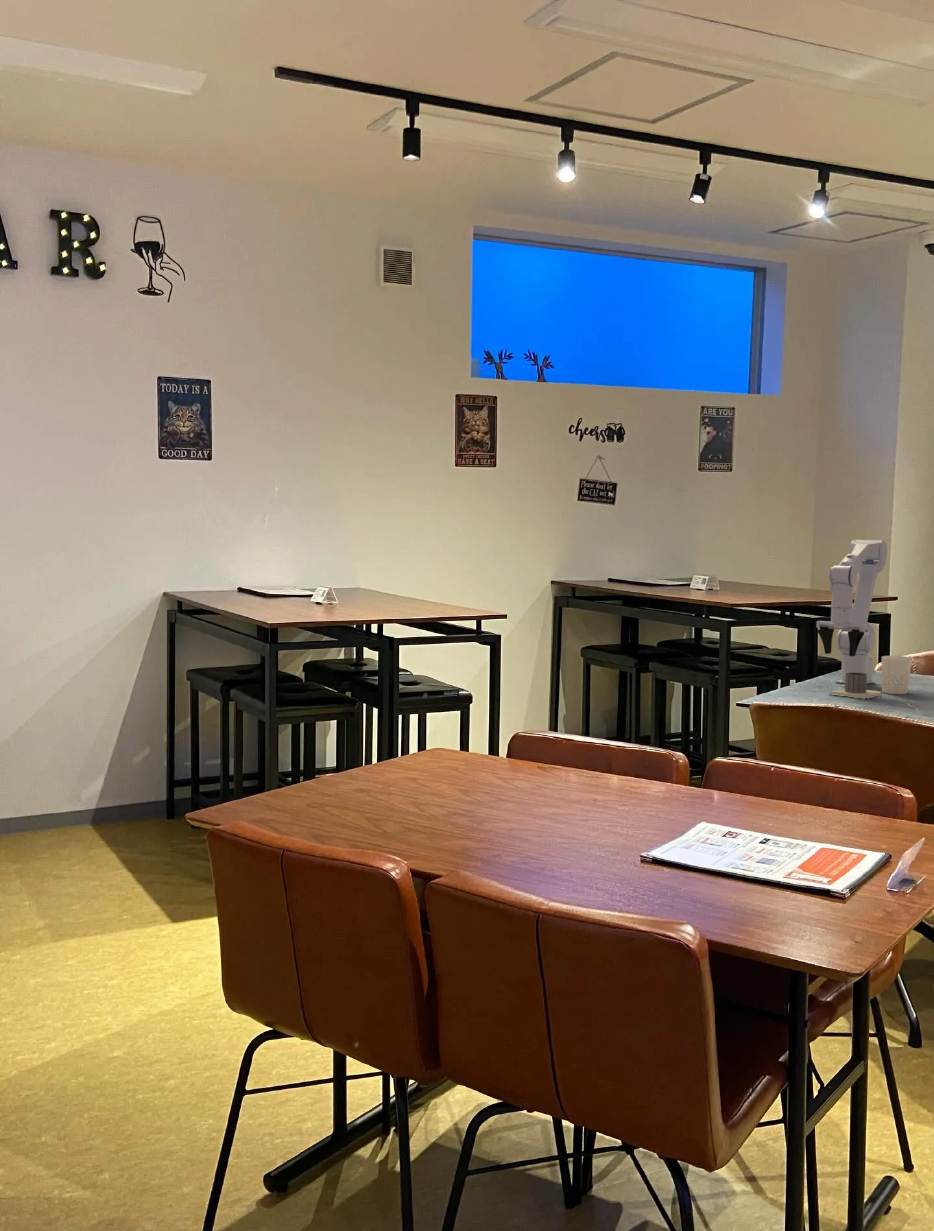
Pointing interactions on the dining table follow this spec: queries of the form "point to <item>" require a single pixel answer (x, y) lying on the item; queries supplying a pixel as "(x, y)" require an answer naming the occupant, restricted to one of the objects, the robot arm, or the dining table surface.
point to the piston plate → (857, 694)
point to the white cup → (895, 674)
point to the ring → (855, 682)
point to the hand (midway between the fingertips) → (840, 654)
